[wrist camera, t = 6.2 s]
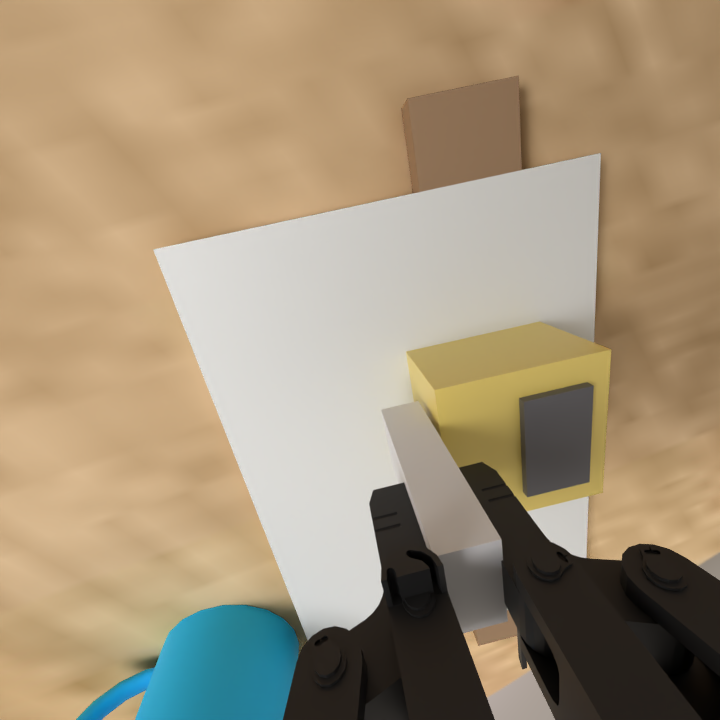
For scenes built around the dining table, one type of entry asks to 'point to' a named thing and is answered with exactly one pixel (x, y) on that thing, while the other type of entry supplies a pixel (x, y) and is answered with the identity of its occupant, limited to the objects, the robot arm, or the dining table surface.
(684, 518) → the dining table surface
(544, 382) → the block
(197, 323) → the drywall panel
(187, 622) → the mug
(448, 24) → the dining table surface
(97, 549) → the dining table surface
